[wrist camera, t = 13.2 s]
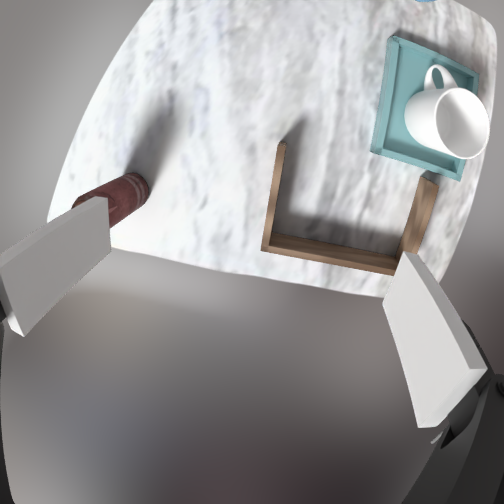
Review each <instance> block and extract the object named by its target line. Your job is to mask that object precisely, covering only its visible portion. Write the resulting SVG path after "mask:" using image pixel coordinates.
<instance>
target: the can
mask: <svg viewBox="0 0 504 504" xmlns="http://www.w3.org/2000/svg"><path fill="white" fill-rule="evenodd" d="M148 194H149V192H148V186H147V183H146V181H145V180H144V179H143V178H142V177H141V176H140V175H138V174H135V173H128V174H125V175H123V176H121V177H119V178H117V179H114V180H112V181H110V182H108V183H106V184H104V185H102V186H100V187H97V188H95V189H93V190H91V191H89V192H87V193H85V194H83V195H81V196H80V197H78V198H77V199H76V201H75V202H74V204H73V205H72V208H71V209H73V208H74V207H76V206H78V205H80V204H82V203H83V202H85V201H87V200H89V199H91V198H93V197H95V196H97V197H104V198H108V214H109V229H110V228H112V227H113V226H114V225H116V224H117V223H118V222H120V221H121V220H123V219H124V218H125V217H127V216H128V215H130V214H131V213H132V212H134V211H135V210H137V209H138V208H140V207H141V206H142V205H143V204H145V202H146V201H147V199H148Z"/></svg>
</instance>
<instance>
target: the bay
mask: <svg viewBox="0 0 504 504" xmlns="http://www.w3.org/2000/svg"><path fill="white" fill-rule="evenodd" d="M286 144H287V143H283V142H279V144H278V147H277V153H276V159H275V165H274V171H273V178H272V184H271V190H270V196H269V202H268V208H267V214H266V220H265V226H264V232H263V238H262V244H261V250H260V251H264V252H269V253H274V254H280V255H285V256H290V257H296V258H301V259H306V260H312V261H317V262H322V263H327V264H333V265H338V266H343V267H349V268H354V269H359V270H364V271H370V272H375V273H380V274H386V275H391V276H394V275H395V272H396V269H397V267H398V264H399V262H400V259H401V256H402V254H403V251H405V252H409V253H414V254H417V252H418V249H419V247H420V244H421V241H422V239H423V236H424V233H425V230H426V227H427V224H428V221H429V218H430V215H431V212H432V209H433V205H434V202H435V199H436V195H437V192H438V188H439V186H438V185H437V184H435V183H433V182H432V181H430V180H428V179H427V178H424V177H421V176H420V179H419V183H418V187H417V190H416V194H415V197H414V201H413V204H412V208H411V211H410V214H409V217H408V220H407V224H406V227H405V230H404V233H403V236H402V239H401V241H400V244H399V247H398V250H397V253H396V255H395V257H394V256H389V255H384V254H379V253H374V252H370V251H365V250H360V249H355V248H350V247H345V246H340V245H335V244H330V243H325V242H320V241H315V240H310V239H305V238H299V237H294V236H289V235H284V234H278V233H273V232H272V226H273V220H274V215H275V209H276V203H277V198H278V192H279V186H280V180H281V174H282V168H283V162H284V156H285V150H286Z"/></svg>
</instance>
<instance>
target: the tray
mask: <svg viewBox="0 0 504 504" xmlns="http://www.w3.org/2000/svg"><path fill="white" fill-rule="evenodd" d="M435 64H438V65H441V66H443V67H444V68H446V69H447V70H448V71H449V73H450V74H451V75H452V77H453V79H454V80H455V82H456V84H457V86H458V87H460V88H464V89H467V90H469V91H471V92H472V93H473V94H475V95H476V96H477V92H478V82H479V74H478V73H476V72H474V71H473V70H471V69H469V68H467V67H465V66H463V65H461V64H460V63H458V62H456V61H454V60H452V59H449V58H447V57H445V56H443V55H441V54H439V53H437V52H434V51H432V50H430V49H428V48H425V47H423V46H420V45H418V44H415V43H413V42H410V41H408V40H405V39H402V38H400V37H397V36H394V35H393V36H391V37H390V38H389V39H388V41H387V50H386V59H385V66H384V74H383V81H382V87H381V94H380V100H379V106H378V111H377V117H376V122H375V128H374V133H373V138H372V143H371V148H370V151H371V152H372V153H375V154H378V155H382V156H385V157H389V158H392V159H395V160H399V161H402V162H405V163H408V164H412V165H415V166H418V167H421V168H424V169H427V170H430V171H432V172H435V173H438V174H441V175H444V176H446V177H449V178H452V179H454V180H457V181H460V180H461V177H462V173H463V169H464V165H465V160H466V159H460V158H457V157H454V156H452V155H449V154H446V153H443V152H440V151H437V150H434V149H431V148H428V147H426V146H423V145H421V144H420V143H418V142H417V141H416V140H415V139H414V138H413V137H412V136H411V135H410V133H409V131H408V129H407V127H406V124H405V118H404V112H405V107H406V104H407V102H408V100H409V99H410V98H411V97H412V96H413V95H414V94H416V93H418V92H421V91H424V81H425V75H426V73H427V71H428V69H429V68H430V67H431V66H432V65H435ZM432 78H433V82H434V84H435V87H436V89H443V88H444V82H443V77H442V74H441V72H440V70H439V69H438V68H434V69H433V70H432Z"/></svg>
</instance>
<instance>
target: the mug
mask: <svg viewBox="0 0 504 504" xmlns="http://www.w3.org/2000/svg"><path fill="white" fill-rule="evenodd" d="M434 68H438V69H439V70H440V72H441V74H442V77H443V82H444V88H443V89H436V87H435V84H434V82H433V78H432V70H433V69H434ZM404 118H405V124H406V127H407V129H408V131H409V133H410V135H411V136H412V137H413V138H414V139H415V140H416V141H417V142H418V143H420V144H421V145H423V146H426V147H428V148H431V149H434V150H437V151H440V152H443V153H446V154H449V155H452V156H454V157H457V158H460V159H471V158H474V157H476V156H478V155H479V154H480V153H481V152H482V151H483V150H484V148H485V147H486V145H487V142H488V139H489V134H490V123H489V118H488V114H487V111H486V109H485V107H484V105H483V103H482V102H481V101H480V99H479V98H478V97H477V96H476V95H475V94H473V93H472V92H471V91H469V90H467V89H464V88H460V87H458V86H457V84H456V82H455V80H454V79H453V77H452V75H451V74H450V73H449V71H448V70H447V69H446V68H444V67H443V66H441V65H438V64H435V65H432V66H431V67H430V68H429V69H428V71H427V73H426V75H425V81H424V91H421V92H418V93H416V94H414V95H413V96H412V97H411V98H410V99H409V100H408V102H407V104H406V107H405V112H404Z"/></svg>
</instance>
